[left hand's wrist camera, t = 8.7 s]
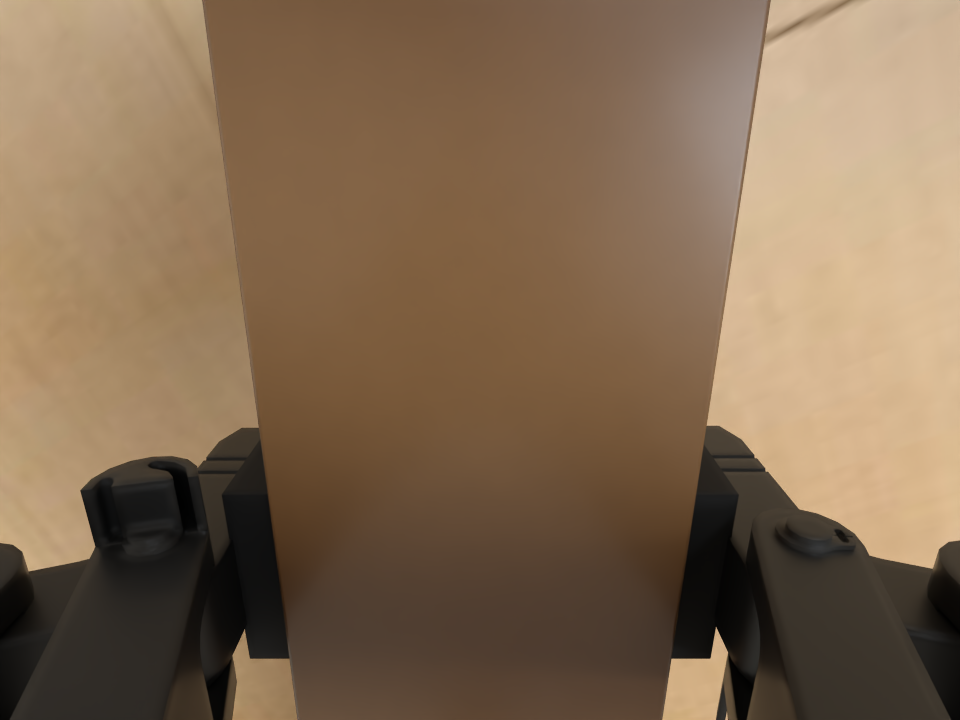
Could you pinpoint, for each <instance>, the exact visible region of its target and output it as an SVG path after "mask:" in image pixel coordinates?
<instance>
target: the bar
mask: <svg viewBox="0 0 960 720" xmlns="http://www.w3.org/2000/svg"><path fill="white" fill-rule="evenodd" d="M202 1H203V9H204V16H205V24H206V31H207V39H208V46H209V54H210V62H211V69H212V77H213V84H214V92H215V99H216V107H217V114H218V122H219V129H220V137H221V145H222V152H223V160H224V167H225V175H226V182H227V190H228V197H229V205H230V213H231V220H232V228H233V235H234V243H235V250H236V258H237V265H238V273H239V280H240V288H241V296H242V303H243V311H244V318H245V326H246V333H247V341H248V348H249V356H250V364H251V371H252V379H253V386H254V394H255V401H256V409H257V416H258V424H259V431H260V439H261V447H262V454H263V462H264V469H265V477H266V484H267V492H268V499H269V507H270V515H271V522H272V530H273V537H274V545H275V552H276V560H277V567H278V575H279V582H280V590H281V598H282V605H283V613H284V620H285V628H286V635H287V643H288V650H289V658H290V666H291V673H292V681H293V688H294V696H295V703H296V711H297V718H298V720H662V717H663V710H664V704H665V697H666V691H667V684H668V677H669V671H670V664H671V657H672V651H673V644H674V638H675V631H676V624H677V618H678V611H679V604H680V598H681V591H682V585H683V578H684V571H685V565H686V558H687V551H688V545H689V538H690V532H691V525H692V518H693V512H694V505H695V498H696V492H697V485H698V479H699V472H700V465H701V459H702V452H703V445H704V439H705V432H706V425H707V419H708V412H709V406H710V399H711V392H712V386H713V379H714V372H715V366H716V359H717V353H718V346H719V339H720V333H721V326H722V319H723V313H724V306H725V300H726V293H727V286H728V280H729V273H730V266H731V260H732V253H733V247H734V240H735V233H736V227H737V220H738V213H739V207H740V200H741V194H742V187H743V180H744V174H745V167H746V160H747V154H748V147H749V141H750V134H751V127H752V121H753V114H754V107H755V101H756V94H757V88H758V81H759V74H760V68H761V61H762V54H763V48H764V41H765V35H766V28H767V21H768V15H769V8H770V1H771V0H202Z"/></svg>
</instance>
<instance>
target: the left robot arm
mask: <svg viewBox="0 0 960 720" xmlns="http://www.w3.org/2000/svg"><path fill="white" fill-rule="evenodd" d="M206 458H207V459H206V461H203V462H202V464H201V465H200V466H199V467H198V468H197V466H196V465H195V464H193V463H192V462H191V461H189V460H188V459H183V458H178V457H173V456H165V457H149V458H144V459H139V460H134V461H130V462H127V463H124V464H121V465H119V466H116V467H113V468H110V469H108V470H106V471H105V472H103V473H101V474H100V475H98V476H96V477H94V478H93V479H91V480H90V481H89V482H88V483H87V484H86V485H85V486H84V487H83V488H82V489H81V490H80V491H81V495H82V498H83V502H84V506H85V509H86V513H87V517H88V521H89V524H90V528H91V532H92V536H93V539H94V543H95V549H94V551H93V553H92V555H91V557H90V559H87V560H84V561H80V562H75V563H70V564H65V565H60V566H55V567H50V568H45V569H40V570H35V571H28V568H27V565H26V562H25V559H24V556H23V553H22V551H20V550H19V549H18V548H16V547H15V546H14V545H10V544H3V543H0V720H232V716H233V708H234V700H235V692H236V684H237V680H236V673H235V667H234V662H233V656H232V655H233V653H234V651H235V649H236V647H237V644H238V642H239V640H240V638H241V636H242V634H243V631H244V629H245V632H246V638H247V644H248V650H249V655H250V659H290V658H289V650H288V643H287V635H286V628H285V620H284V613H283V605H282V598H281V590H280V582H279V575H278V567H277V560H276V552H275V545H274V537H273V530H272V522H271V515H270V507H269V499H268V492H267V484H266V477H265V469H264V462H263V454H262V447H261V439H260V431H259V428H241V429H239V430H238V431H236V432H234V433H233V434H231V435H229V436H228V437H226V438H225V439H223V440H221V441H220V442H219V443H218V444H217V445H216V446H215V448H214V449H213V450H212V451H211V453H210V454H209V455H208V456H207V457H206ZM716 627H717V629H718V632H719V634H720V636H721V638H722V640H723V642H724V644H725V647H726V649H727V651H728V656H727V662H726V667H725V672H724V678H723V683H722V688H721V694H720V699H719V704H718V710H717V717H716V720H725V718H726V713H727V715H728V720H960V541H953V542H948V543H947V544H945V545H944V546H943V547H941V548H940V549H939V552H938V555H937V558H936V561H935V564H934V567H933V569H930V568H925V567H920V566H915V565H910V564H905V563H900V562H895V561H889V560H884V559H880V558H876V557H872V556H869V554H868V552H867V550H866V548H865V546H864V545H863V544H862V542H861V541H860V540H859V539H858V538H857V536H856V535H855V534H854V533H853V532H851V531H850V530H848V529H847V528H845V527H844V526H842V525H841V524H839V523H838V522H836V521H833V520H831V519H829V518H826V517H824V516H822V515H819V514H816V513H812V512H808V511H803V510H799V509H798V508H797V506H796V505H795V504H794V503H793V502H792V500H791V499H790V498H789V497H788V495H787V494H786V493H785V492H784V491H783V489H782V488H781V487H780V486H779V485H778V483H777V482H776V481H775V480H774V478H773V477H772V476H771V475H770V474H769V472H765V468H764V466H763V465H762V464H761V463H760V461H759V460H758V459H757V458H754V454H753V453H752V452H751V451H750V449H749V448H748V447H747V446H746V444H745V443H744V442H743V441H742V440H741V439H740V438H738V437H736V436H735V435H733V434H731V433H730V432H728V431H726V430H725V429H723V428H721V427H720V426H706V432H705V439H704V445H703V452H702V459H701V465H700V472H699V479H698V485H697V492H696V498H695V505H694V512H693V518H692V525H691V532H690V538H689V545H688V551H687V558H686V565H685V571H684V578H683V585H682V591H681V598H680V604H679V611H678V618H677V624H676V631H675V638H674V644H673V651H672V657H671V659H710V658H711V652H712V646H713V641H714V635H715V629H716Z"/></svg>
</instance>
